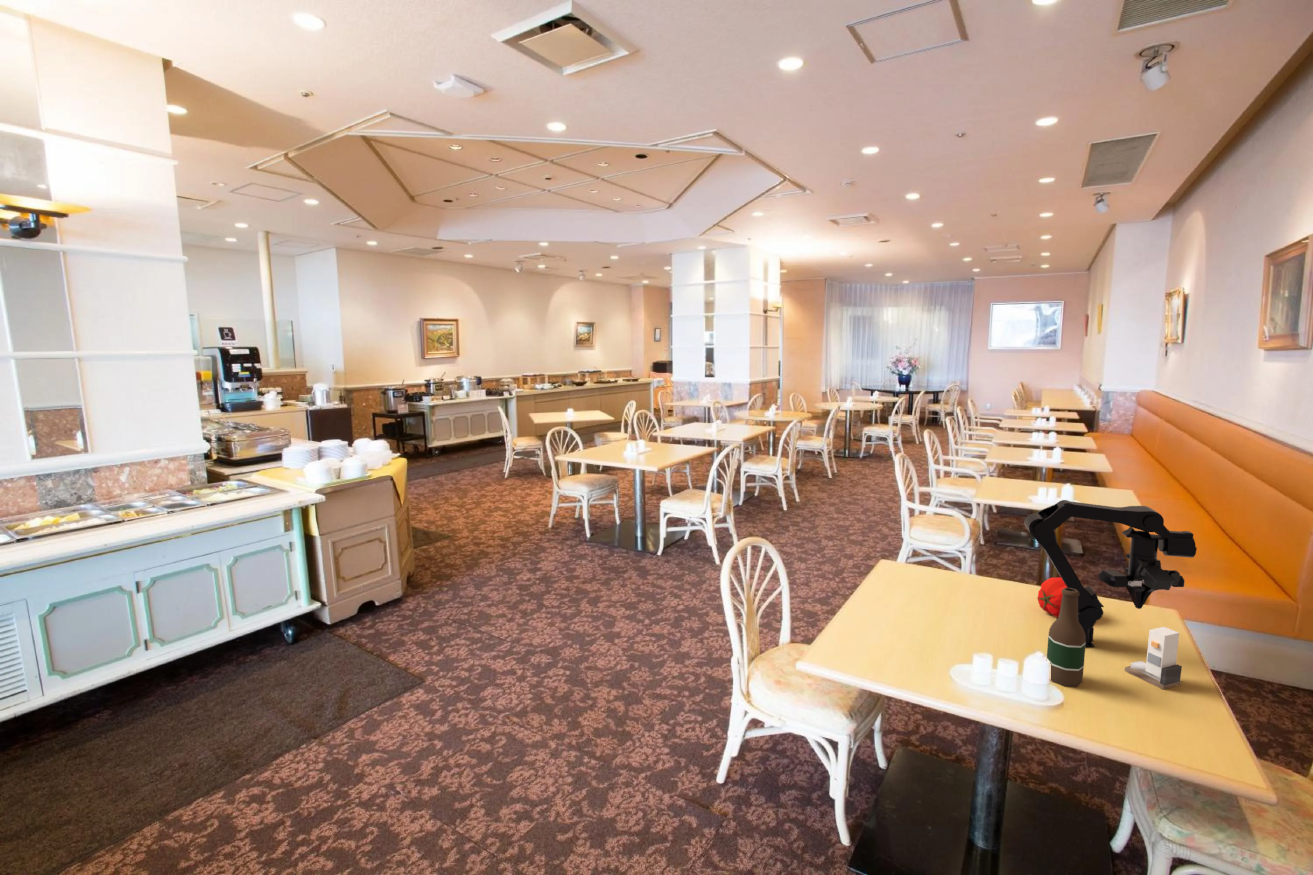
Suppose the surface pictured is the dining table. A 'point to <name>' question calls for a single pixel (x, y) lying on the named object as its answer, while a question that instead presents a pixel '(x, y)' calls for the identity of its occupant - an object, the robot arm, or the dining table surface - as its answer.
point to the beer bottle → (1067, 643)
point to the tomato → (1051, 595)
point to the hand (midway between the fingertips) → (1138, 608)
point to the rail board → (1167, 680)
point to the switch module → (1161, 650)
